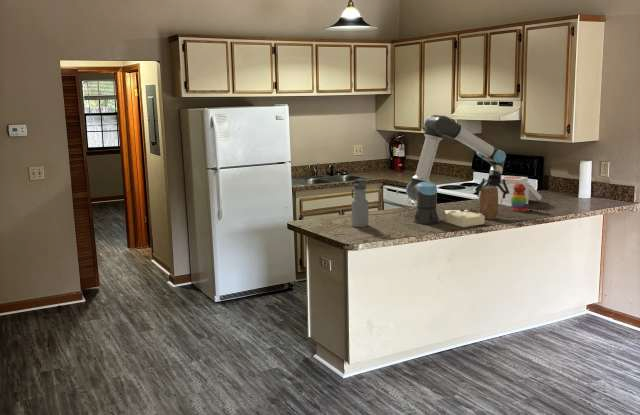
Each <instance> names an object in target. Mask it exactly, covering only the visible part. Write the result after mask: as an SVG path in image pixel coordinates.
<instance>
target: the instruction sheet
mask: <svg viewBox="0 0 640 415" xmlns="http://www.w3.org/2000/svg"><path fill="white" fill-rule="evenodd" d="M448 212H452V213H456V212H462V211H461V210H460V209H454V210H453V209H446V210H445V209H444V213H445V215H446V214H448Z"/></svg>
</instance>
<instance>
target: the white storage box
mask: <svg viewBox="0 0 640 415" xmlns="http://www.w3.org/2000/svg"><path fill="white" fill-rule="evenodd" d="M504 179H505V182H506V186H507V188H508V190H509V194H506V195H505V198H503V202H502V203H501V201H500V200H501V195H502V191H501V190H500V189H499V188H498V187H497V186H496V187H497V188H498V205H503V206H508V207H511V206H512V205H511V198H512V194H513V193H514V192H515V190H514V186H515V185H516V183H521V184H523V185H524V186H525V188H526V190H525V191H524V193H525V196H526V204H527V205H529V200H530V199H531V200H534V201H541V199H542V195H541V194H540V193H539V192H538V191H537V189H536V188H535V187H533V186H532V185H531V184H530V182H528V180H529V177H528V176H517V175H516V176H515V175H504V176H501V180H504ZM500 185H501V187H502V188H503V189H504V190H505V187H504V185H503V184H502V183H500ZM505 191H506V190H505Z"/></svg>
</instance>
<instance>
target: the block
mask: <svg viewBox="0 0 640 415" xmlns="http://www.w3.org/2000/svg"><path fill="white" fill-rule="evenodd" d="M483 186H484V185H483ZM483 186H482V187H483ZM479 206H480V209H479V213H481V214H482V215H484V216H485V217H484V220H489V221H491V220H492V221H493V220H495V219H496V218H497V216H498V214H499V212H498V211H499V204H498V188H497V186H496V187H494V186H484V187H483V188H482V189H481V193H480V202H479Z"/></svg>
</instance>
